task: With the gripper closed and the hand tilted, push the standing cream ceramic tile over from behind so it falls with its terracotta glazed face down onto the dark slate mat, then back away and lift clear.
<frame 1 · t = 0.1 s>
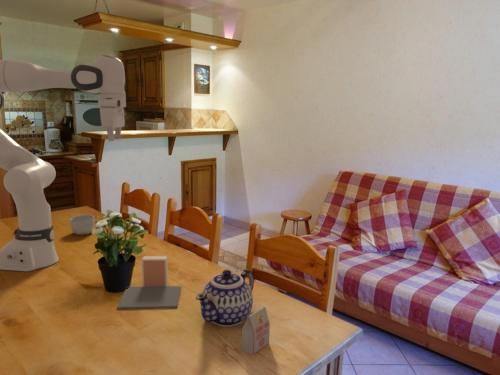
hand: (114, 140, 147), 48 cm above the table, tool pointing down, fingers open, 8 cm apart
ceramic tile: (155, 285, 136), on the table
teacup: (84, 232, 192), on the table
teapot: (226, 318, 116), on the table
grey gable-top carton: (255, 347, 102), on the table
slate mat: (150, 297, 127), on the table
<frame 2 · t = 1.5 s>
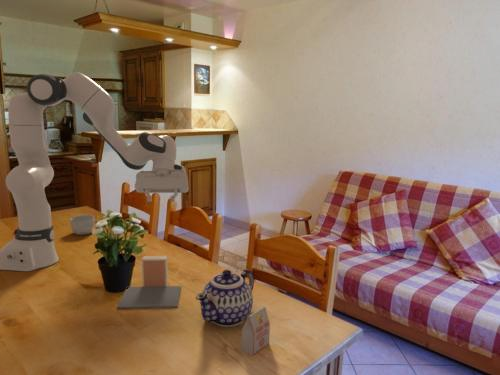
hand: (160, 200, 148), 26 cm above the table, tool tilted 45°, fingers open, 7 cm apart
nothing on the table moved.
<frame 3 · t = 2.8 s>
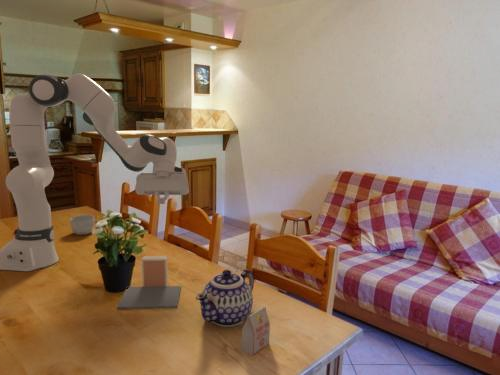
hand: (161, 203, 148), 25 cm above the table, tool tilted 45°, fingers closed
nothing on the table moved.
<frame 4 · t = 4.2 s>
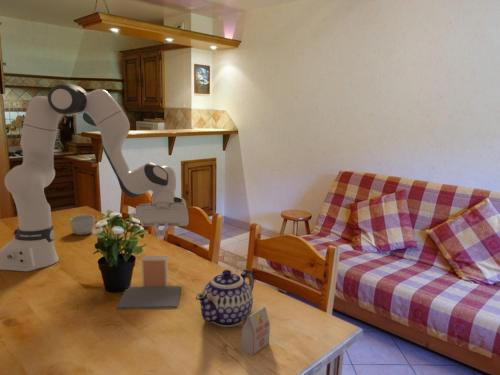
hand: (160, 235, 147), 14 cm above the table, tool tilted 45°, fingers closed
nothing on the table moved.
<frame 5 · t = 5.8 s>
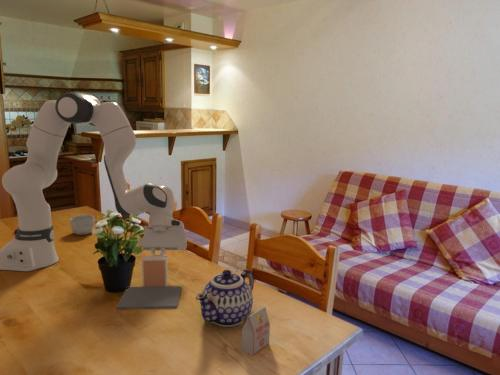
hand: (157, 260, 140), 7 cm above the table, tool tilted 45°, fingers closed
nothing on the table moved.
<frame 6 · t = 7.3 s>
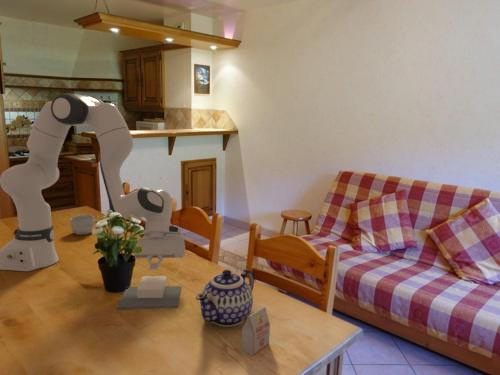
hand: (154, 269, 132), 7 cm above the table, tool tilted 45°, fingers closed
ceramic tile: (154, 280, 134), point 2 cm above the table, tilted 90°, touching slate mat
everything else where it was.
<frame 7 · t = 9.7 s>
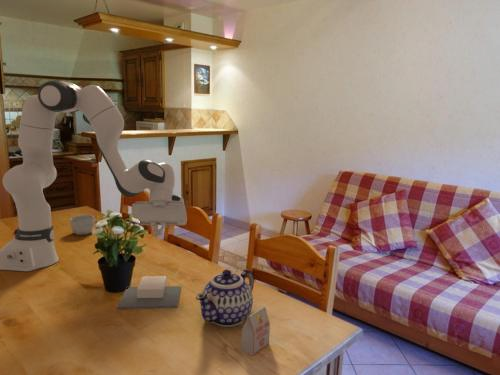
hand: (157, 234, 141), 16 cm above the table, tool tilted 45°, fingers closed
nothing on the table moved.
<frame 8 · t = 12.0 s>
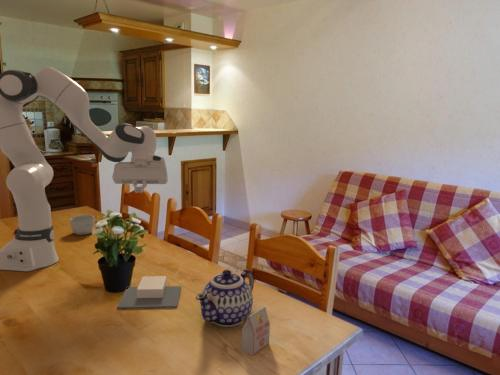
hand: (138, 192, 146), 29 cm above the table, tool tilted 45°, fingers closed
nothing on the table moved.
at the end: ceramic tile tilted 90°; ceramic tile inside the target area (3.2 cm from its centre), point 2.2 cm above the table; ceramic tile touching slate mat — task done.
